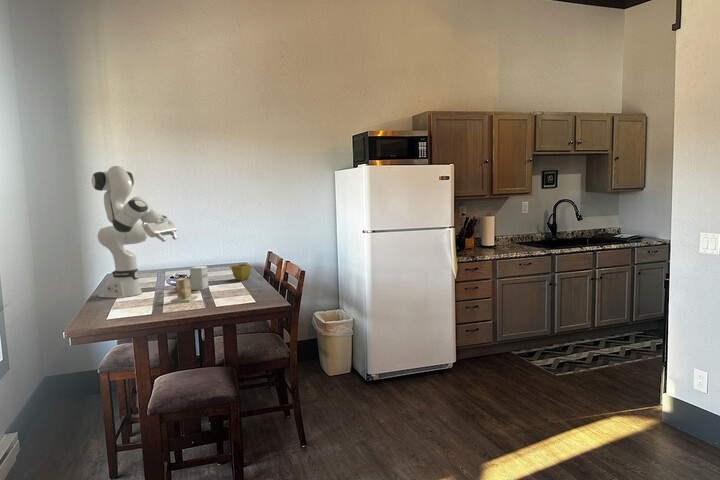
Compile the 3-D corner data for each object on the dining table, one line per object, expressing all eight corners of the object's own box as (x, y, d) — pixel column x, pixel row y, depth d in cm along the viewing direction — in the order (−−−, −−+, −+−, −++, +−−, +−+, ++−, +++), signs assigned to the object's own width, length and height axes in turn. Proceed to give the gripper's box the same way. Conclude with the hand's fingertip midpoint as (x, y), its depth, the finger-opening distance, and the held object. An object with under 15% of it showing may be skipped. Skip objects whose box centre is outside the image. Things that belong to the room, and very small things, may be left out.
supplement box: (202, 290, 308) (201, 268, 307) (190, 289, 310) (189, 268, 308) (208, 287, 315) (207, 265, 314) (197, 287, 317) (195, 266, 315)
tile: (171, 302, 280) (170, 300, 280) (179, 297, 289) (179, 295, 289) (189, 301, 278) (189, 300, 278) (197, 297, 288) (197, 295, 288)
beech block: (177, 298, 282) (176, 279, 281) (183, 296, 287) (181, 278, 286) (185, 299, 281) (184, 280, 280) (191, 297, 285) (190, 278, 284)
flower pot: (252, 278, 337) (251, 264, 336) (242, 281, 330) (241, 266, 329) (242, 277, 342) (241, 263, 341) (231, 280, 335) (230, 266, 334)
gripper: (143, 218, 277) (160, 237, 275) (168, 215, 296) (185, 233, 294) (136, 227, 278) (154, 246, 277) (162, 224, 298) (178, 241, 296)
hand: (170, 239), depth 286 cm, fingers open, 8 cm apart
